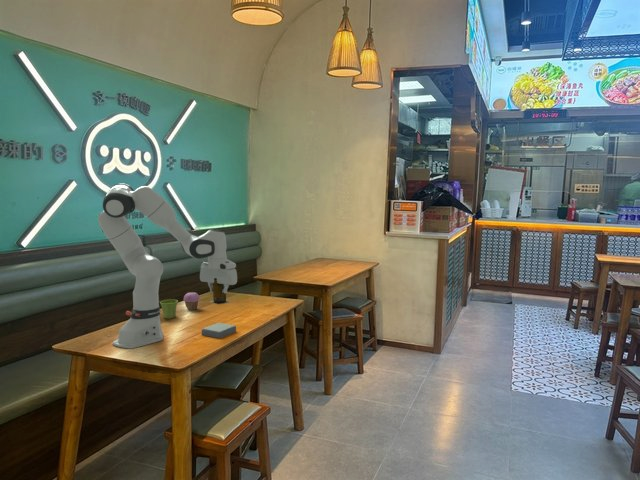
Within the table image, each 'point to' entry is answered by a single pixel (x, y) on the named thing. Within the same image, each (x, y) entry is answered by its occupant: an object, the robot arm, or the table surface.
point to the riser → (219, 330)
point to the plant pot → (169, 308)
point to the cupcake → (191, 300)
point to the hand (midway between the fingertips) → (218, 292)
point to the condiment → (218, 293)
